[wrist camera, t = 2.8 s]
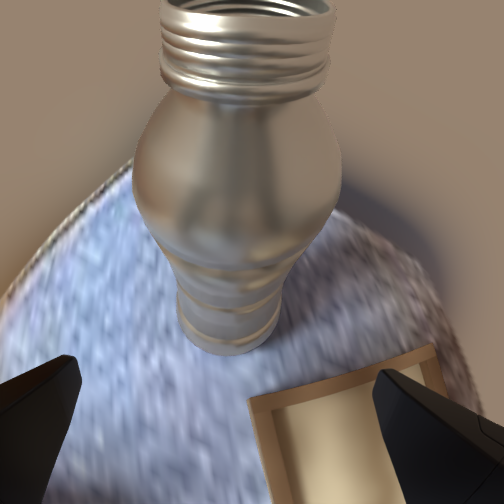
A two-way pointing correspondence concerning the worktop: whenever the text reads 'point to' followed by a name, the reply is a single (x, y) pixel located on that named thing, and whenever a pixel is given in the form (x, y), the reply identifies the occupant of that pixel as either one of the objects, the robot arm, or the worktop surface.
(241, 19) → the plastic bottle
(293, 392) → the stand
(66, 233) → the worktop surface
